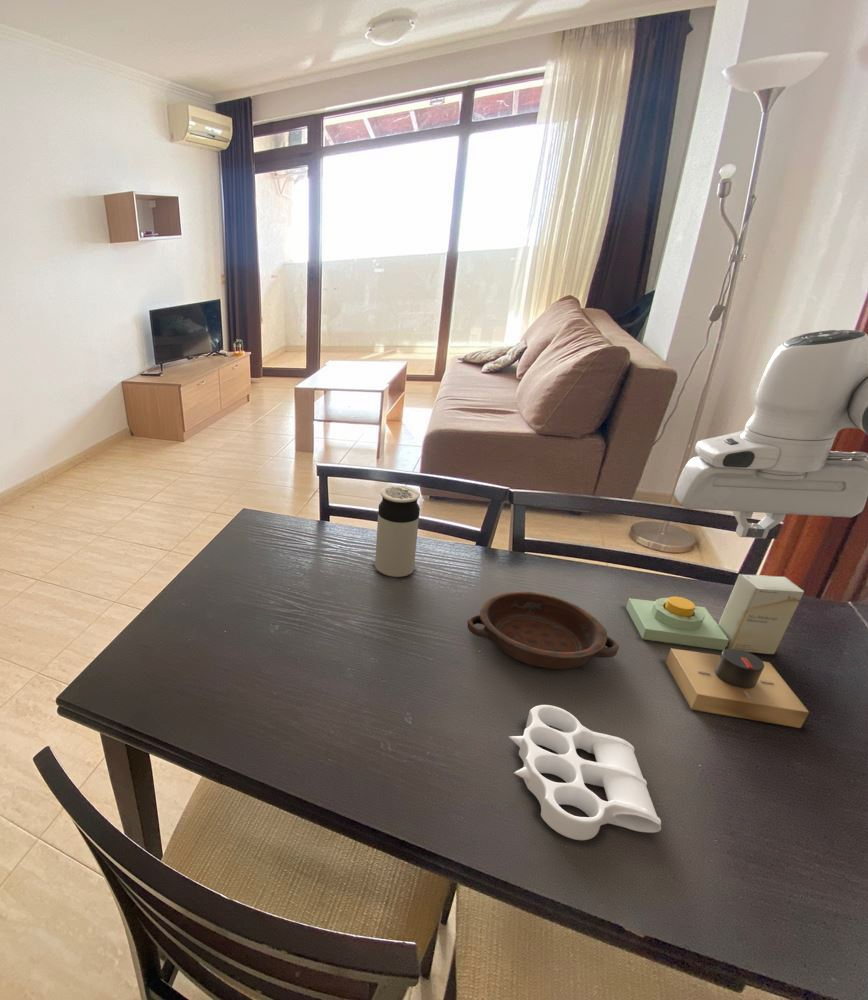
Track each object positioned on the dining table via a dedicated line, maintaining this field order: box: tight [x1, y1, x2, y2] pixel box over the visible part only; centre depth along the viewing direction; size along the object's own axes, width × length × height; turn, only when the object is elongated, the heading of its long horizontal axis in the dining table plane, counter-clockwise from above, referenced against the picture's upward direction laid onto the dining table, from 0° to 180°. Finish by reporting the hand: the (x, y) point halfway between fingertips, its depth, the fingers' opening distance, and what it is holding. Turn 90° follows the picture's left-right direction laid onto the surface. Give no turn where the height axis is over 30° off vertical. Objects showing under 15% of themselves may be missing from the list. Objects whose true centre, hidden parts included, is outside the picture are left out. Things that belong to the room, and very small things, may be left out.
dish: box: [466, 590, 620, 670], centre depth 91 cm, size 18×22×5 cm
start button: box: [665, 596, 696, 617], centre depth 91 cm, size 4×4×2 cm
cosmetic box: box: [717, 573, 805, 655], centre depth 86 cm, size 6×4×12 cm
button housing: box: [625, 597, 729, 651], centre depth 92 cm, size 11×9×4 cm
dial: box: [715, 648, 764, 688], centre depth 78 cm, size 4×4×4 cm
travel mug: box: [374, 485, 421, 578], centre depth 113 cm, size 8×8×18 cm
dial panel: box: [665, 648, 810, 729], centre depth 79 cm, size 12×10×3 cm
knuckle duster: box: [508, 704, 662, 841], centre depth 69 cm, size 3×18×15 cm
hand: (750, 536), depth 82 cm, fingers closed
